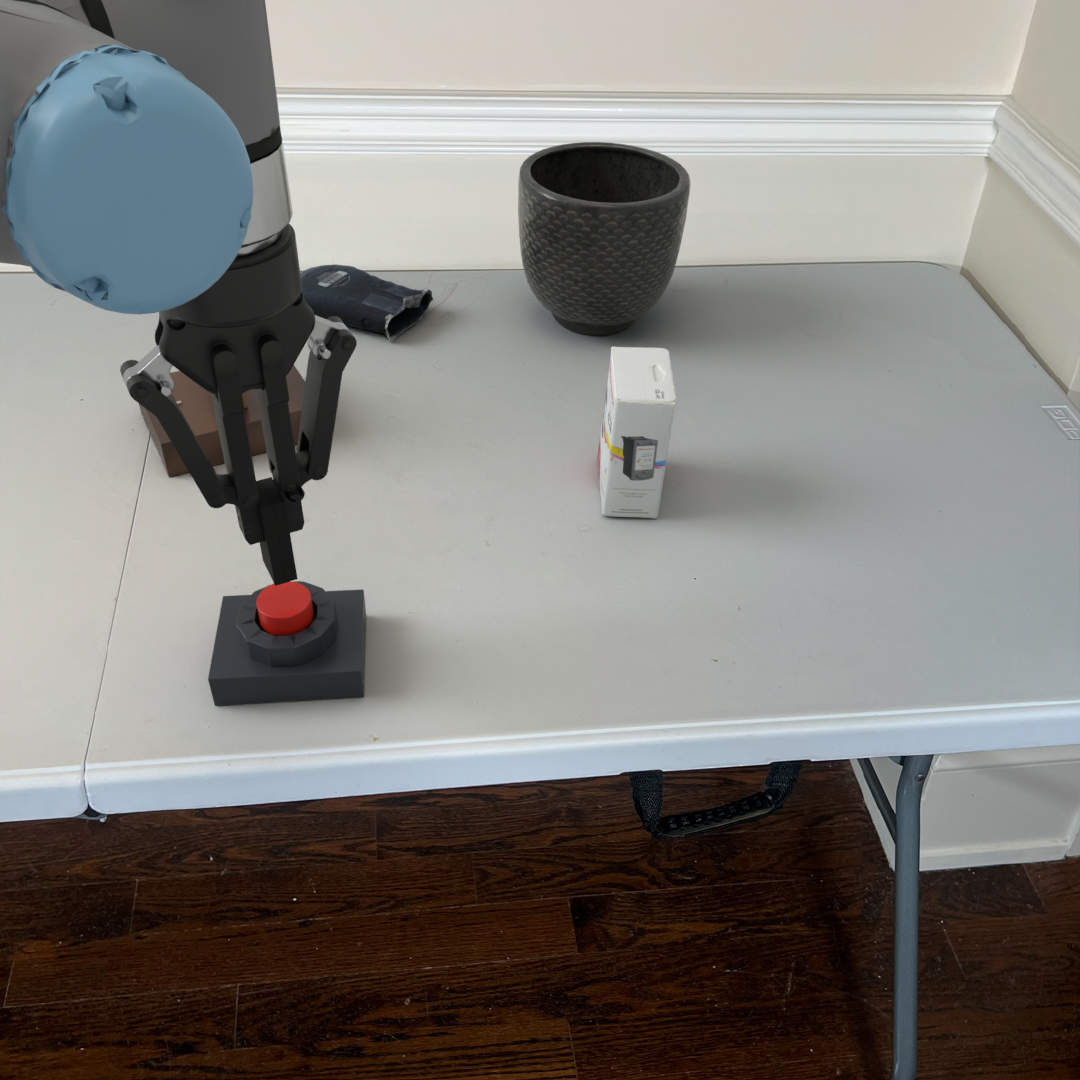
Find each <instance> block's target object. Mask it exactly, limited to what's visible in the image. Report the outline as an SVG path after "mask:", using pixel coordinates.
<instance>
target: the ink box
mask: <svg viewBox="0 0 1080 1080" xmlns="http://www.w3.org/2000/svg"><path fill="white" fill-rule="evenodd" d="M676 399H677V395H676V388H675V383H674V375H673V370H672V361H671V358H670V350H668V349H666V348H664V347H640V346H639V347H636V346H635V347H633V346H632V347H631V346H615V345H614V346H611V348H610V359H609V367H608V375H607V383H606V391H605V398H604V404H603V405H604V406H603V412H602V420H601V429H600V433H599V434H600V435H599V443H598V449H597V457H596V460H597V471H598V481H599V482H598V483H599V493H600V495H599V496H600V504H601V505H600V506H601V514H602V516H605V517H615V518H616V517H618V518H619V517H620V518H643V519H657V518H658V515H659V511H660V510H659V509H660V505H661V504H660V503H661V497H662V492H663V486H664V479H665V473H666V466H667V465H666V464H667V460H668V453H669V448H670V441H671V437H672V436H671V435H672V429H673V428H672V427H673V423H674V417H675V416H674V415H675V409H676Z"/></svg>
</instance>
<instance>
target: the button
mask: <svg viewBox="0 0 1080 1080" xmlns="http://www.w3.org/2000/svg"><path fill="white" fill-rule="evenodd" d="M269 585H270V586H269ZM269 585H267V586H268V587H267V586H265V587H266V588H265V589H264V590H263V591H262V592H261V593H260V594H259V596H258V598H257V603H256V604H257V609H258V614H259V619H260V624H261V626H262V628H263V629H264V630H265V631H266V632H268V633H270V634H273V635H276V636H288V635H294V634H296V633H298V632H300V631H303V630H305V629H306V628H307V627H308V626H309V625H310V624H311V622H312V620H313V616H314V613H313V606H312V600H311V594H310V592H309V590H308V589H307V588H306V587H305V586H304V585H302V584H300V583H297V582H294V581H290V582H286V583H283V584H280V585H277V586H275V584H274V583H272V585H271V584H269Z"/></svg>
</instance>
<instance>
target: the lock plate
mask: <svg viewBox="0 0 1080 1080" xmlns="http://www.w3.org/2000/svg"><path fill="white" fill-rule="evenodd" d="M170 374H171V376H172V378H173V380H174V383H175V386H174V389H173V390H172V393H171V394H172V395H173V397H174V399H175V401H176V402H177V404H178V406H179V408H180V410H181V411H182V413H183V415H184V417H185V418H186V420H187V422H188V424H189V426H190V427H191V429H192V431H193V433H194V434H195V436H196V438H197V440H198V441H199V443H200V445H201V447H202V449H203V450H204V452H205V454H206V456H207V457H208V459H209V461H210V463H211V465H212V466H213V467H214V466H217V465H222V464H225V461H224V456H223V452H222V447H221V442H220V437H219V432H218V427H217V422H216V417H215V412H214V408H213V403H212V398H211V394H210V392H208V391H206V390H204V389H203V388H202V387H200V386H199V385H198V384H197V383H195V382H194V381H193V380H191V379H190V378H189V377H187V376H186V375H185V374H183V373H182V372H181V371H179V370H177V371H171V372H170ZM286 380H287V386H288V393H289V401H288V406H289V413H290V419H291V425H292V432H293V438H294V445H295V446H297V444H298V436H299V428H300V420H301V412H302V405H303V397H304V389H305V381H306V380H305V379H304V377H303V376H302V374H301V373H300V372H299V369H297V367H296V365H295V364H294V365H293V367H292V368H291V370H290V372H289V373H288V375H287V376H286ZM245 394H246V400H247V406H248V407H247V408H245V412H244V417H245V423H246V428H247V433H248V439H249V444H250V450H251V455H252V457H253V456H257V455H262V454H265V453H267V451H266V445H265V439H264V434H263V428H262V422H261V417H260V411H259V405H258V400H257V394H256V389H251V390H249V391H246V392H245ZM138 406H139V410H140V414H141V416H142V418H143V420H144V423H145V425H146V427H147V430H148V433H149V434H150V437H151V439H152V441H153V444H154V446H155V449H156V451H157V453H158V456H159V458H160V460H161V462H162V465H163V467H164V470H165V472H166V474H167V476H168V478H171V477H176V476H179V475H183V474H187V473H189V471H188V469H187V468H186V466H185V464H184V463H183V461H182V459H181V457H180V456H179V454H178V452H177V451H176V449H175V447H174V446H173V444H172V442H171V440H170V439H169V437H168V435H167V434H166V432H165V430H164V429H163V427H162V425H161V424H160V422H159V420H158V418H157V417H156V416H155V415H154V414H152V413H151V412H150V411H148V410H147V409H146V408H144V407H143V406H142V405H140V404H139V403H138Z"/></svg>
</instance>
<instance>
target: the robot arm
mask: <svg viewBox="0 0 1080 1080" xmlns="http://www.w3.org/2000/svg"><path fill="white" fill-rule="evenodd" d="M271 45H272V44H271V36H270V29H269V21H268V13H267V5H266V0H0V264H8V265H18V266H19V265H20V266H24V267H30V268H31V271H32V272H33V273H34V274H35V275H36V276H38V277H39V278H40V279H41V280H42V281H43V282H44V283H46V284H48V285H49V286H50V287H53V288H55V289H56V290H59V291H63V292H66V293H68V294H69V295H72V296H74V297H75V298H78V299H80V300H82V301H84V302H86V303H88V304H90V305H92V306H94V307H95V308H99V309H101V310H104V311H108V312H114V313H119V314H124V315H149V314H157V313H158V323H157V326H156V329H155V332H154V341H155V347H154V348H152V349H150V351H149V352H148V353H146V355H144V357H143V358H141V359H140V360H136V359H128V360H126V361H124V362H123V363H122V364H121V365H120V369H119V371H120V376H121V377H122V380H123V381H124V384H125V386H126V389H127V391H128V393H129V396H130V398H132V400H134V401H135V402H136V403H138V405H139V404H140V405H142V406H143V407H144V408H146V409H147V410H148V411H150V412H151V413H152V414H154V415H155V416H156V417H157V418H158V420H159V422H160V424H161V425H162V427H163V429H164V430H165V432H166V434H167V435H168V437H169V439H170V440H171V442H172V444H173V446H174V447H175V449H176V451H177V452H178V454H179V456H180V457H181V459H182V461H183V463H184V464H185V466H186V468H187V469H188V471H189V472H188V473H189V474H190V476H191V478H192V479H193V481H194V483H195V484H196V486H197V489H198V490H199V492H200V493H201V495H202V496H203V498H204V500H205V502H206V503H207V505H208V507H210V508H212V509H221V508H223V507H224V506H226V505H233V506H234V508H235V513H236V518H237V522H238V527H239V529H240V532H241V533H242V535H243V537H244V539H245V541H246V543H248V545H249V546H252V545H255V544H259V547H260V552H261V558H262V561H263V563H264V566H265V568H266V570H267V572H268V574H269V576H270V578H271V580H272V582H273V584H275V586H277V585H280V584H283V583H286V582H290V581H291V582H294V581H297V580H298V574H297V568H296V561H295V555H294V548H293V543H292V538H291V537H292V536H291V533H295V532H298V531H302V530H303V529H304V525H305V517H304V511H303V503H302V500H303V499H304V498H305V495H306V492H305V491H304V489H303V486H304V485H305V484H306V483H307V482H309V481H311V480H312V481H321V480H322V479H324V478H325V477H326V476H327V475H328V472H329V466H330V459H331V452H332V446H333V439H334V433H335V432H334V431H335V425H336V419H337V413H338V412H337V411H338V405H339V400H340V399H339V398H340V392H341V385H342V379H343V373H344V370H345V369H346V367H347V365H348V363H349V361H350V359H351V357H352V355H353V354H354V351H355V350H356V348H357V344H358V343H357V339H356V338H355V336H354V335H353V333H352V332H351V331H350V330H349V327H347V325H345V324H344V323H343V322H342V320H341V319H340V318H338V317H336V316H331V317H329V318H327V319H324V318H321V317H319V316H316V315H314V312H313V310H312V309H311V307H310V306H309V305H308V304H307V302H306V301H305V299H304V297H303V291H302V282H301V275H300V273H301V269H300V260H299V253H298V252H299V251H298V245H297V237H296V231H295V229H294V227H293V226H292V224H290V223H291V220H292V217H293V205H292V199H291V198H292V197H291V190H290V185H289V176H288V170H287V163H286V156H285V147H284V140H283V137H282V131H281V120H280V112H279V104H278V93H277V87H276V79H275V78H276V77H275V71H274V70H275V69H274V63H273V61H274V60H273V54H272V46H271ZM306 344H307V347H308V349H309V350H310V351H309V355H308V359H307V365H306V366H307V367H306V374H305V380H304V381H305V389H304V397H303V405H302V412H301V420H300V428H299V436H298V444H297V445H294V438H293V432H292V425H291V419H290V413H289V406H288V401H289V393H288V386H287V380H286V376H287V375H288V373H289V372H290V370H291V368H292V367H293V365H294V366H295V363H296V361H297V359H299V356H300V354H301V353H302V351H303V349H304V347H305V345H306ZM172 367H173V368H175V369H177V371H181V372H182V373H183V374H185V375H186V376H187V377H189V378H190V379H191V380H193V381H194V382H195V383H197V384H198V385H199V386H200V387H202V388H203V389H204V390H206V391H208V392H210V394H211V398H212V403H213V408H214V412H215V417H216V422H217V427H218V432H219V437H220V442H221V447H222V452H223V456H224V461H225V463H224V465H225V466H224V467H225V470H226V474H225V473H217V472H216V470H215V468H214V466H212V465H211V463H210V461H209V459H208V457H207V456H206V454H205V452H204V450H203V449H202V447H201V445H200V443H199V441H198V440H197V438H196V436H195V434H194V433H193V431H192V429H191V427H190V426H189V424H188V422H187V420H186V418H185V417H184V415H183V413H182V411H181V410H180V408H179V406H178V404H177V402H176V401H175V399H174V397H173V395H172V394H171V393H172V390H173V389H174V386H175V383H174V380H173V378H172V376H171V374H170V373H171V369H172ZM251 389H256V394H257V400H258V405H259V411H260V417H261V422H262V428H263V434H264V439H265V445H266V451H267V452H266V455H267V461H268V468H269V471H270V474H271V475H272V476H270V477H267V478H263V479H259V480H257V478H256V477H257V476H256V472H255V467H254V461H253V456H252V455H251V450H250V444H249V439H248V433H247V428H246V423H245V417H244V412H245V408H244V402H243V397H242V393H244V392H246V391H249V390H251Z"/></svg>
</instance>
